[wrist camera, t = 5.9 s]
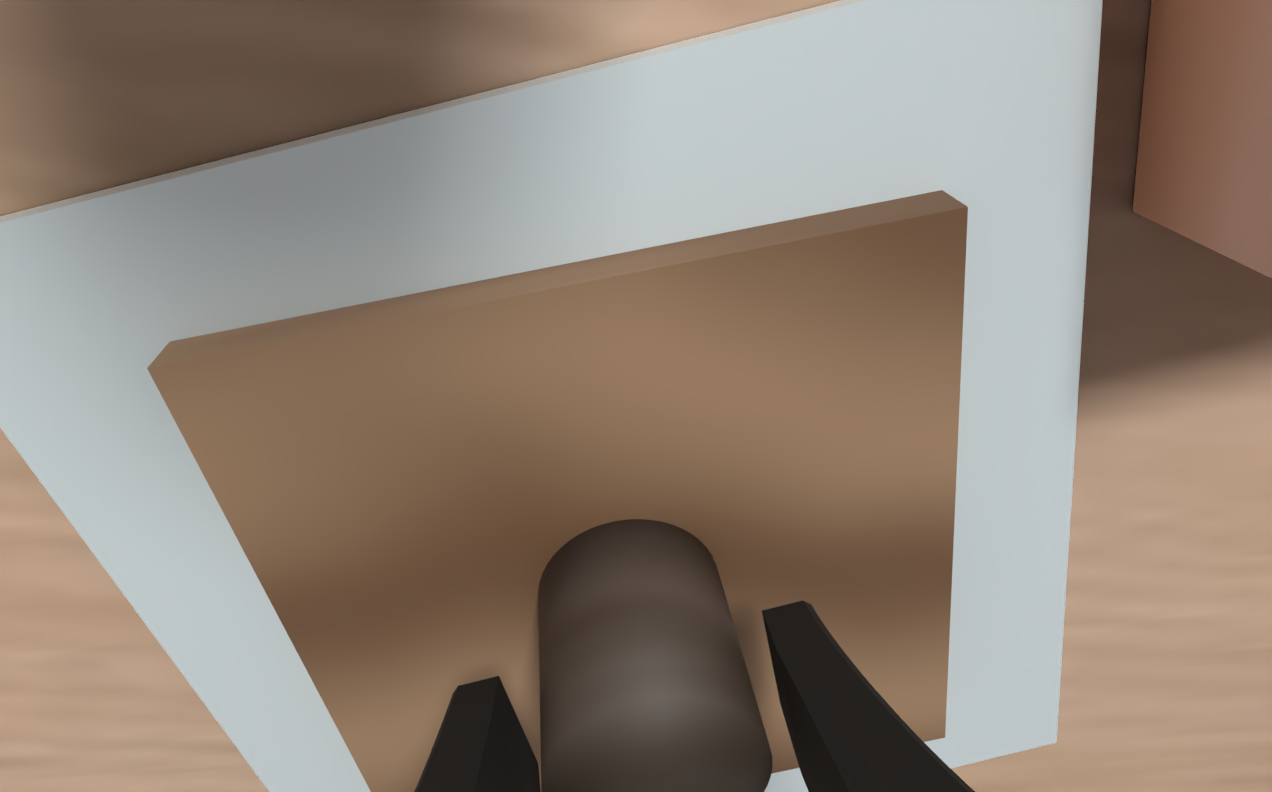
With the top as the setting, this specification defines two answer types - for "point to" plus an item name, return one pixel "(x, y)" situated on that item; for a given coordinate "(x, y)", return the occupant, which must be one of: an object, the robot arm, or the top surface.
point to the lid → (606, 491)
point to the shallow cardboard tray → (1209, 126)
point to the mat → (570, 232)
